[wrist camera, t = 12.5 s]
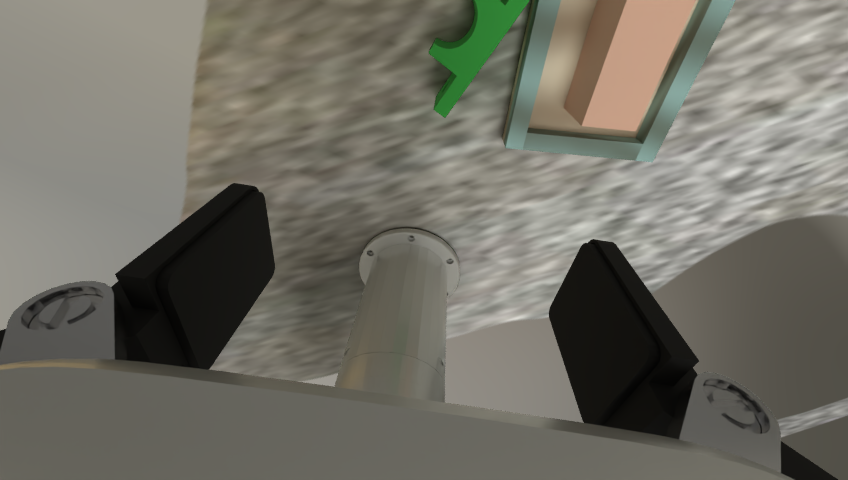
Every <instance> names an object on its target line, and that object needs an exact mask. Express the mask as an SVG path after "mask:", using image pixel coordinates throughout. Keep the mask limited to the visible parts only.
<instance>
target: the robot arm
mask: <svg viewBox="0 0 848 480" xmlns="http://www.w3.org/2000/svg"><path fill="white" fill-rule="evenodd" d="M274 270H275V263H274V256H273V249H272V243H271V236H270V230H269V223H268V216H267V210H266V203H265V197H264V195H263V193H262V192H259V191H258V189H257V188H256V187H255V186H249V185H243V184H237V183H233V184H231V185H230V186H228V187H227V188H226V189H224V190H223V191H222V192H221V193H219V194H218V195H217V196H215V197H214V198H213V199H212V200H210V201H209V202H208V203H206V204H205V205H204V206H203V207H201V208H200V209H199V210H197V211H196V212H195V213H193V214H192V215H191V216H190V217H188V218H187V219H186V220H184V221H183V222H182V223H181V224H179V225H178V226H177V227H175V228H174V229H173V230H172V231H170V232H169V233H168V234H166V235H165V236H164V237H163V238H162V239H160V240H159V241H157V242H156V243H155V244H153V245H152V246H151V247H150V248H148V249H147V250H146V251H144V252H143V253H142V254H141V255H139V256H138V257H137V258H135V259H134V260H133V261H132V262H130V263H129V264H128V265H126V266H125V267H124V268H122V269H121V270H120V271H119V272H118V273H116V274H115V275H116V277H117V279H118V282H117V283H116V284H114V285H113V286H112V287H109V286H108V285H106V284H105V283H100V282H96V281H82V282H75V283H69V284H65V285H61V286H58V287H55V288H51V289H49V290H47V291H45V292H42V293H40V294H38V295H36V296H34V297H32V298H31V299H29V300H28V301H26V302H24V303H23V304H22V305H21V306H20V307H19V308H17V309H16V310H15V311H14V312H13V314H12V315H11V317H10V319H9V321H8V325H7V328H6V329H4V330H1V331H0V480H838V479H836V478H835V477H833V476H832V475H830V474H829V473H827V472H826V471H824V470H823V469H821V468H820V467H818V466H817V465H815V464H814V463H813V462H811V461H810V460H808V459H807V458H805V457H804V456H802V455H801V454H799V453H798V452H796V451H795V450H793V449H792V448H790V447H789V446H787V445H786V444H784V443H783V442H781V432H780V428H779V424H778V422H777V420H776V418H775V417H774V415H773V413H772V412H771V411H770V409H769V408H768V407H767V406H766V405H765V404H764V403H763V401H762V400H760V399H759V398H758V397H757V396H756V395H754V394H753V393H752V392H751V391H750V390H748V389H747V388H745V387H744V386H742V385H741V384H739V383H738V382H736V381H734V380H732V379H730V378H728V377H726V376H723V375H720V374H717V373H709V372H704V373H701V374H698V375H697V373H696V372H695V370H694V369H693V367H694V366H695V364H697V363H698V362H699V360H698V359H697V357H696V356H695V354H694V353H693V352H692V350H691V349H690V348H689V346H688V345H687V343H686V342H685V341H684V339H683V338H682V336H681V335H680V334H679V332H678V331H677V329H676V328H675V327H674V325H673V324H672V322H671V321H670V320H669V318H668V317H667V315H666V314H665V313H664V311H663V310H662V308H661V307H660V306H659V304H658V303H657V301H656V300H655V299H654V297H653V296H652V294H651V293H650V292H649V290H648V289H647V287H646V286H645V285H644V283H643V282H642V281H641V279H640V278H639V276H638V275H637V274H636V272H635V271H634V269H633V268H632V267H631V265H630V264H629V262H628V261H627V260H626V258H625V257H624V255H623V254H622V253H621V251H620V250H619V248H618V247H617V246H616V244H614V243H613V242H607V241H601V240H594V239H593V240H590V241H589V242H588V243H584V244H583V245H582V246H581V248H580V250H579V252H578V254H577V256H576V258H575V259H574V261H573V263H572V265H571V267H570V269H569V271H568V273H567V275H566V277H565V279H564V281H563V283H562V285H561V287H560V289H559V291H558V293H557V295H556V297H555V299H554V301H553V303H552V305H551V307H550V310H549V318H550V321H551V324H552V328H553V331H554V334H555V337H556V340H557V343H558V346H559V349H560V352H561V355H562V358H563V361H564V365H565V367H566V371H567V373H568V377H569V380H570V383H571V386H572V389H573V392H574V395H575V398H576V401H577V405H578V408H579V411H580V414H581V417H582V420H583V422H584V423H580V422H574V421H567V420H560V419H554V418H546V417H540V416H533V415H526V414H520V413H513V412H506V411H499V410H493V409H485V408H479V407H472V406H465V405H458V404H451V403H445V355H446V353H445V352H446V311H447V298H448V297H449V296H450V295H451V294H452V293H453V292H454V291H455V289H456V287H457V286H458V283H459V280H460V264H459V261H458V258H457V256H456V254H455V252H454V251H453V249H452V248H451V247H450V246H449V245H448V244H447V243H446V242H445V241H443V240H442V239H441V238H439V237H437V236H435V235H433V234H431V233H429V232H426V231H422V230H418V229H411V228H402V229H394V230H389V231H387V232H384V233H381V234H379V235H378V236H376V237H375V238H373V239H372V240H371V241H370V242H369V243H368V244H367V245H366V247H365V248H364V250H363V252H362V255H361V257H360V262H359V273H360V276H361V279H362V281H363V283H364V285H365V288H364V291H363V295H362V298H361V301H360V304H359V308H358V311H357V314H356V317H355V321H354V324H353V327H352V330H351V334H350V337H349V340H348V344H347V347H346V350H345V353H344V357H343V360H342V363H341V366H340V370H339V373H338V377H337V380H336V383H335V387H331V386H324V385H317V384H309V383H303V382H295V381H288V380H281V379H273V378H266V377H259V376H252V375H244V374H237V373H230V372H222V371H214V370H208V369H209V368H210V367H211V366H212V365H213V363H214V362H215V360H216V359H217V357H218V356H219V354H220V353H221V351H222V350H223V348H224V347H225V345H226V344H227V343H228V341H229V340H230V338H231V337H232V335H233V334H234V332H235V331H236V329H237V328H238V326H239V325H240V323H241V322H242V320H243V319H244V317H245V316H246V315H247V313H248V312H249V310H250V309H251V307H252V306H253V304H254V303H255V301H256V300H257V298H258V297H259V295H260V294H261V292H262V291H263V290H264V288H265V287H266V285H267V284H268V282H269V281H270V279H271V278H272V276H273V274H274Z"/></svg>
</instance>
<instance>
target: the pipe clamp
mask: <svg viewBox="0 0 848 480" xmlns="http://www.w3.org/2000/svg"><path fill="white" fill-rule="evenodd" d="M472 1H473V4H474V11H475V13H474V21H473V24H472V26H471V28H470V30H469V32H468V33H467V34H466V35H465V36H464V37H463V38H461V39H460V40H458V41H455V42H445V41H442V40H440V39H438V38H436V40H435V41H434V43H433V45H432V46H431V49H430V51H429V54H430V55H431V56H433V57H434V58H435V59H436V60H438V61H439V62H440V63H441V64H443V65H444V66H445V67H446V68H448V69H449V70H450V71H451V72H452V74H451V75H450V77H449V78H448V80H447V81H446V83H445V84H444V86H443V87H442V89H441V90H440V92H439V93H438V94H437V96H436V100H435V106H434V110H435V111H436V112H438V113H439V114H440V115H442V116H443V117H444V118H445V117H446V116H447V115H448V113H449V112H450V110H451V109H452V108H453V106H454V105H455V104H456V102H457V101H458V99H459V98H460V97H461V95H462V94H463V92H464V91H465V90H466V88H467V87H468V85H469V84H470V83H471V81H472V80H473V79H474V77H475V76H476V74H477V73H478V72H479V70H480V69H481V67H482V66H483V65H484V63H485V62H486V60H487V59H488V58H489V56H490V55H491V53H492V52H493V51H494V49H495V48H496V47H497V45H498V44H499V42H500V41H501V40H502V38H503V37H504V35H505V34H506V33H507V31H508V30H509V28H510V27H511V26H512V24H513V23H514V22H515V20H516V19H517V17H518V16H519V15H520V13H521V12H522V10H523V9H524V8H525V6H526V5H527V3H528V2H529V1H530V0H501V1H500V0H472Z"/></svg>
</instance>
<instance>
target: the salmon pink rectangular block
mask: <svg viewBox="0 0 848 480" xmlns="http://www.w3.org/2000/svg"><path fill="white" fill-rule="evenodd" d="M695 1H696V0H597V4H596V7H595V10H594V13H593V16H592V19H591V23H590V26H589V29H588V32H587V35H586V38H585V42H584V45H583V48H582V51H581V54H580V57H579V61H578V64H577V67H576V70H575V73H574V76H573V80H572V83H571V86H570V89H569V92H568V95H567V98H566V102H565V105H564V109H565V110H566V111H567V112H568V113H569V114H570V115H571V116H572V117H573V118H574V119H575V120H576V121H577V122H578V123H579V124H580V125H581V126H587V127H596V128H606V129H616V130H626V131H636V130H637V128H638V125H639V123H640V121H641V119H642V117H643V115H644V112H645V110H646V108H647V106H648V104H649V101H650V99H651V97H652V95H653V93H654V91H655V88H656V86H657V84H658V82H659V80H660V78H661V75H662V73H663V71H664V69H665V67H666V65H667V62H668V60H669V58H670V56H671V54H672V51H673V49H674V47H675V45H676V43H677V41H678V38H679V36H680V34H681V32H682V30H683V28H684V25H685V23H686V21H687V19H688V17H689V15H690V12H691V10H692V8H693V6H694V4H695Z"/></svg>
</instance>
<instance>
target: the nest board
mask: <svg viewBox="0 0 848 480" xmlns="http://www.w3.org/2000/svg"><path fill="white" fill-rule="evenodd" d="M734 2H735V0H696V1H695V4H694V6H693V8H692V10H691V12H690V15H689V17H688V19H687V21H686V23H685V25H684V28H683V30H682V32H681V34H680V36H679V38H678V41H677V43H676V45H675V47H674V49H673V51H672V54H671V56H670V58H669V60H668V62H667V65H666V67H665V69H664V71H663V73H662V75H661V78H660V80H659V82H658V84H657V86H656V88H655V91H654V93H653V95H652V97H651V99H650V101H649V104H648V106H647V108H646V110H645V112H644V115H643V117H642V119H641V121H640V123H639V125H638V128H637V130H636V131H626V130H616V129H606V128H596V127H587V126H581V125H580V124H579V123H578V122H577V121H576V120H575V119H574V118H573V117H572V116H571V115H570V114H569V113H568V112H567V111H566V110H565V109H564V105H565V102H566V98H567V95H568V92H569V89H570V86H571V83H572V80H573V76H574V73H575V70H576V67H577V64H578V61H579V57H580V54H581V51H582V48H583V45H584V42H585V38H586V35H587V32H588V29H589V26H590V23H591V19H592V16H593V13H594V10H595V7H596V4H597V0H532V3H531V8H530V13H529V17H528V22H527V26H526V31H525V36H524V40H523V45H522V50H521V54H520V59H519V63H518V68H517V73H516V77H515V82H514V87H513V91H512V96H511V101H510V105H509V110H508V114H507V119H506V124H505V128H504V133H503V138H502V139H503V142H504V145H505V148H511V149H521V150H531V151H542V152H552V153H563V154H573V155H583V156H594V157H604V158H615V159H625V160H635V161H646V162H653V160H654V158H655V156H656V154H657V152H658V150H659V148H660V147H661V145H662V143H663V141H664V139H665V137H666V135H667V133H668V131H669V129H670V127H671V125H672V123H673V121H674V119H675V117H676V115H677V113H678V111H679V109H680V108H681V106H682V104H683V102H684V100H685V98H686V96H687V94H688V92H689V90H690V88H691V86H692V84H693V82H694V80H695V78H696V76H697V74H698V72H699V70H700V68H701V67H702V65H703V63H704V61H705V59H706V57H707V55H708V53H709V51H710V49H711V47H712V45H713V43H714V41H715V39H716V37H717V35H718V33H719V31H720V29H721V28H722V26H723V24H724V22H725V20H726V18H727V16H728V14H729V12H730V10H731V8H732V6H733V4H734Z"/></svg>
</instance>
